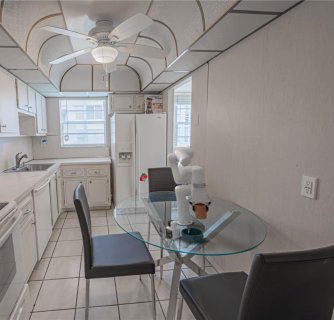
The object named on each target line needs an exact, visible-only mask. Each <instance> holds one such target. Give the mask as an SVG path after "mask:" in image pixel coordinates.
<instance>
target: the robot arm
mask: <svg viewBox="0 0 334 320" xmlns="http://www.w3.org/2000/svg"><path fill="white" fill-rule="evenodd" d="M166 157H167V159H166V160H167V163H168V165H169V167H170V169H171V173H172V176H173V180H174V184H176V185H177V186H175V188H174V193H175V198H176V207H177V215H175V216H174V217H175V218H174V219H176V222H177V224H178V225H180V226H191V225H192V224H193V223H194V222H193V220H191V210H190V206H191V209H192V211H193V213H195V206H194V204H195V203H204V204H206V212H207V213H208V212H209V211H210V209H209V208H210V207H209V206H210V205H211V204H212V203H213V202H214V199H213V198H211V197H210V196H209V194H208V189H207V186H208V183H206V181H205V169H204V167H202V166H200V165H190V164H191V163H192V159H193V157H195V151H194V149H193V148H191V147H183V148H177V149H176V150H175V151H173V152H170V153H168V155H167V156H166ZM187 197H188V198H187Z"/></svg>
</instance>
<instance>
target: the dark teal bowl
mask: <svg viewBox="0 0 334 320" xmlns="http://www.w3.org/2000/svg"><path fill="white" fill-rule="evenodd" d="M180 238H181V240H182V241H183V242H185V243H188V244H200V243H203V242H204V240H205V237H204V230H202V229H200V228H198V227H185V228H182V229H180ZM203 239H204V240H203Z"/></svg>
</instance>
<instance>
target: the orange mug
mask: <svg viewBox="0 0 334 320" xmlns="http://www.w3.org/2000/svg"><path fill="white" fill-rule="evenodd" d="M194 206H195V212H194V218H195V219H197V220H207V219H208V218H207V217H208V216H207V213H208V212H206V204H205V203H195V204H194Z"/></svg>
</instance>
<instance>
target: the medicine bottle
mask: <svg viewBox="0 0 334 320" xmlns="http://www.w3.org/2000/svg"><path fill="white" fill-rule="evenodd" d="M165 236H166V237H167V238H168V239H171V241H172V240H176V239H179V238H181V229H180V227H178V225H177V220H175V219H170V220H168V221H167V226H165Z"/></svg>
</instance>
